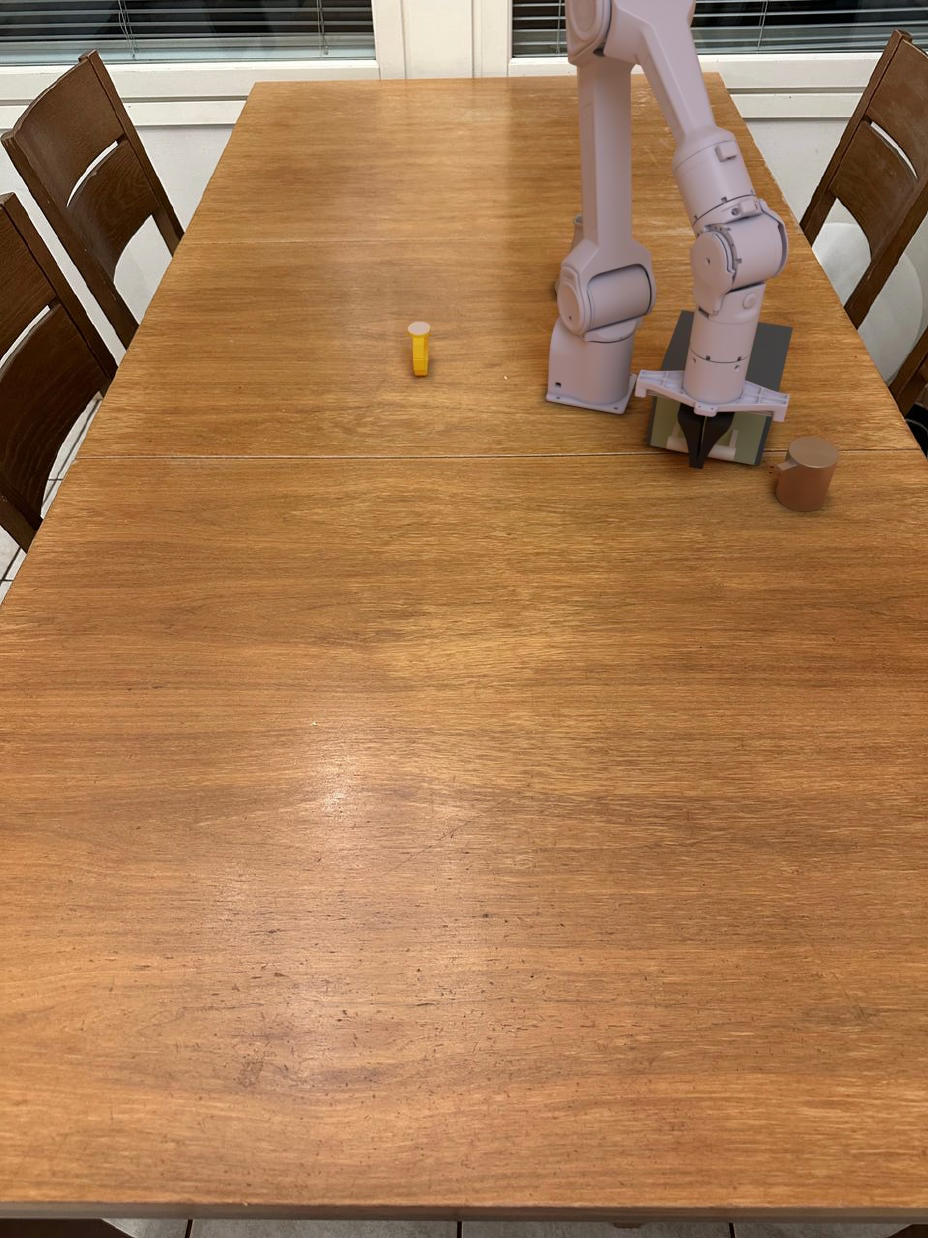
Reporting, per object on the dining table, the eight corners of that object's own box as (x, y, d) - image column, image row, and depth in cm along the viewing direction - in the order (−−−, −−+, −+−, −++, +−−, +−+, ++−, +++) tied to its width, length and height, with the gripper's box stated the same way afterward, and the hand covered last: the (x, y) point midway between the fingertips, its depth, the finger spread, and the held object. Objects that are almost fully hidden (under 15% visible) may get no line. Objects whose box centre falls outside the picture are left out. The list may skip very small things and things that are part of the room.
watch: (412, 355, 120) (409, 313, 116) (434, 355, 120) (432, 313, 115) (409, 383, 116) (405, 340, 112) (431, 383, 116) (428, 340, 112)
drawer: (747, 491, 100) (761, 439, 95) (641, 470, 103) (648, 419, 98) (770, 394, 111) (783, 343, 106) (673, 378, 114) (682, 327, 109)
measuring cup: (803, 475, 103) (817, 430, 98) (834, 502, 100) (849, 457, 95) (752, 494, 101) (764, 449, 97) (782, 522, 98) (796, 477, 93)
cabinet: (759, 465, 104) (776, 400, 98) (646, 444, 107) (655, 379, 101) (776, 390, 113) (793, 326, 107) (671, 373, 116) (681, 309, 110)
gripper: (634, 355, 88) (620, 472, 98) (794, 382, 84) (763, 500, 94) (650, 318, 92) (635, 433, 102) (803, 342, 89) (772, 459, 99)
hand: (697, 463), depth 98 cm, fingers closed, pressing on drawer
